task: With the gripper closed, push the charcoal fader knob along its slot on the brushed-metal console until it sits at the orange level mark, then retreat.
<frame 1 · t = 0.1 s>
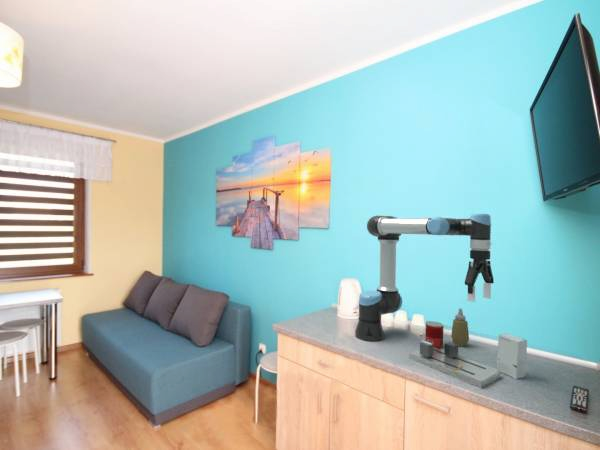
hand: (479, 299, 130), 28 cm above the worktop, fingers open, 13 cm apart
fader: (426, 348, 132), point 6 cm above the worktop, slide at 0.0 cm
console: (452, 367, 127), on the worktop
skincare box: (511, 374, 123), on the worktop
canned food: (434, 346, 151), on the worktop
squeeze bottle: (459, 344, 154), on the worktop
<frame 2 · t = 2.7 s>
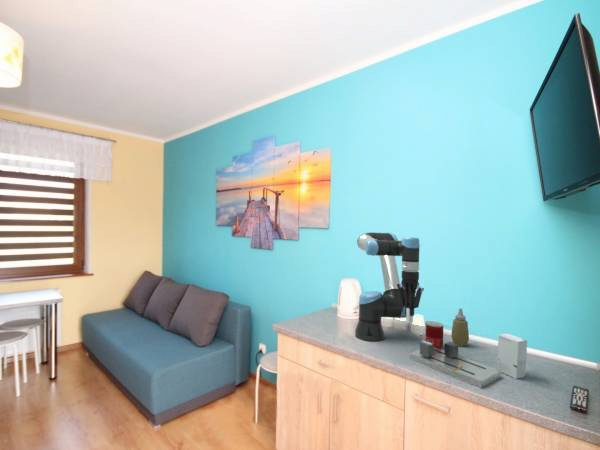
hand: (409, 322, 140), 15 cm above the worktop, fingers closed
nothing on the worktop moved.
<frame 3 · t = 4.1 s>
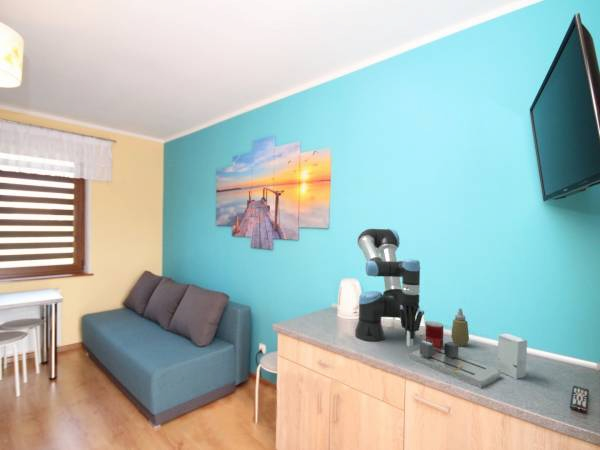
hand: (409, 345, 139), 4 cm above the worktop, fingers closed
nothing on the worktop moved.
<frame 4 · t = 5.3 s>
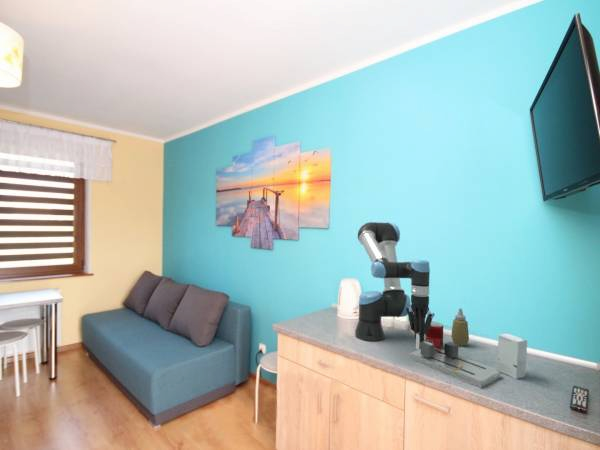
hand: (419, 348, 135), 5 cm above the worktop, fingers closed
fader: (427, 348, 132), point 6 cm above the worktop, slide at 0.4 cm, touching gripper
everything else where it was.
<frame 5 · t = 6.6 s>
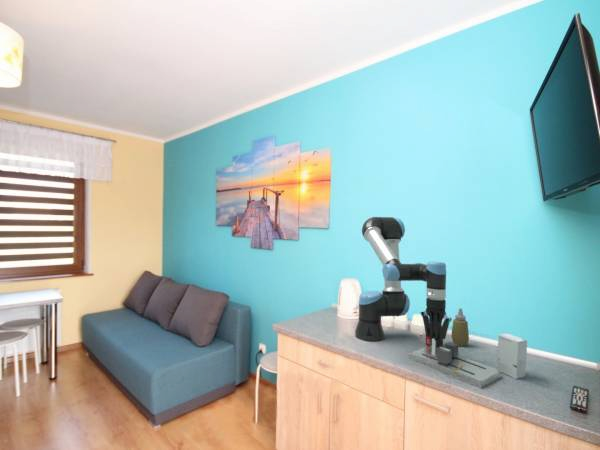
hand: (435, 354, 129), 5 cm above the worktop, fingers closed
fader: (444, 354, 126), point 6 cm above the worktop, slide at 7.9 cm, touching gripper
everything else where it was.
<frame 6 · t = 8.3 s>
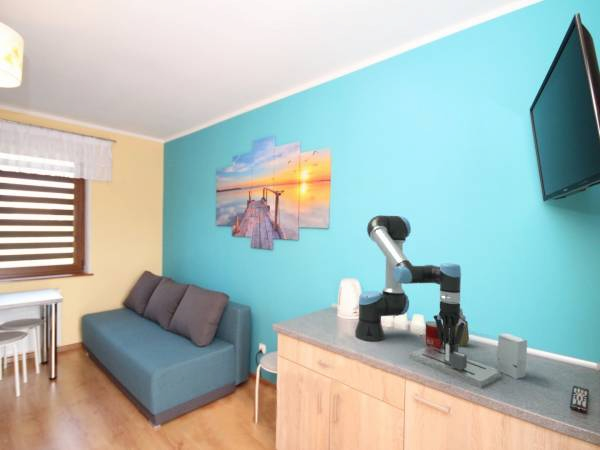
hand: (448, 359, 124), 4 cm above the worktop, fingers closed
fader: (458, 360, 121), point 6 cm above the worktop, slide at 14.0 cm, touching gripper
everything else where it was.
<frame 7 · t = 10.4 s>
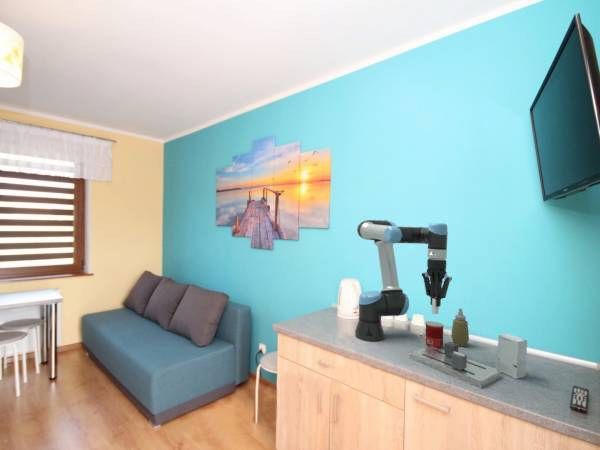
hand: (435, 313, 132), 21 cm above the worktop, fingers closed
fader: (458, 360, 121), point 6 cm above the worktop, slide at 14.0 cm
everything else where it was.
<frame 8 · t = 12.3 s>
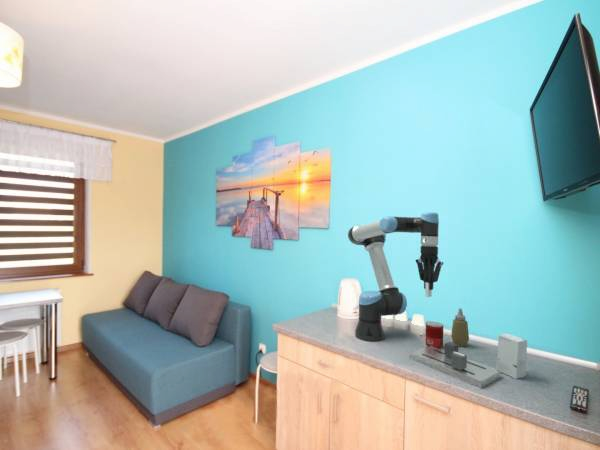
hand: (428, 296, 142), 26 cm above the worktop, fingers closed
nothing on the worktop moved.
at the end: fader slide at 14.0 cm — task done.
